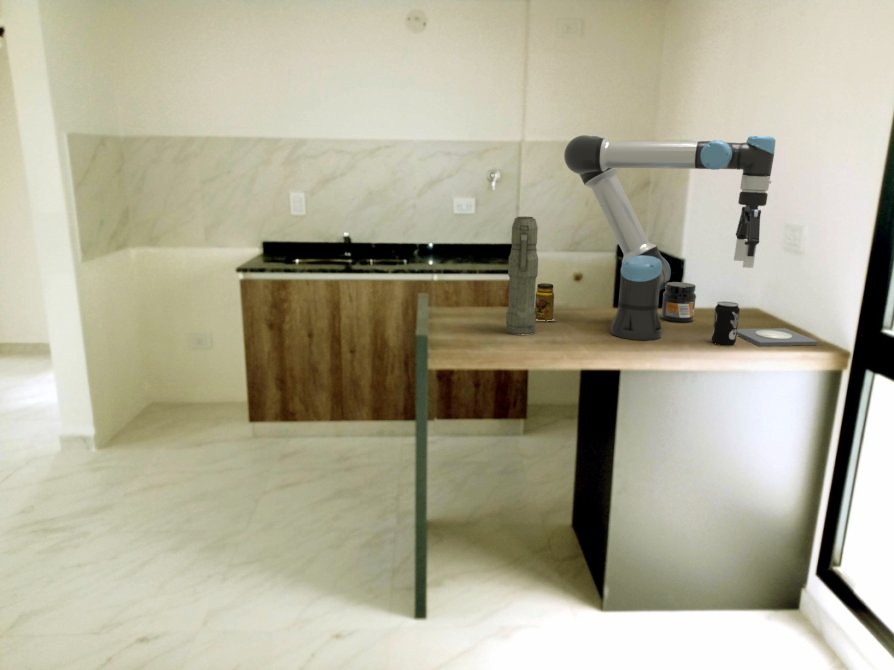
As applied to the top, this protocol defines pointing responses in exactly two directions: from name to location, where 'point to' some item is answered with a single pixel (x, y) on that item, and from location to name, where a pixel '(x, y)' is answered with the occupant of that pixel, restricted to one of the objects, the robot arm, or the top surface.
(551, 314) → the condiment
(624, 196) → the robot arm
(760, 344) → the plate
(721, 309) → the beverage can
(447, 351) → the top surface
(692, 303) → the supplement container
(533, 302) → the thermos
